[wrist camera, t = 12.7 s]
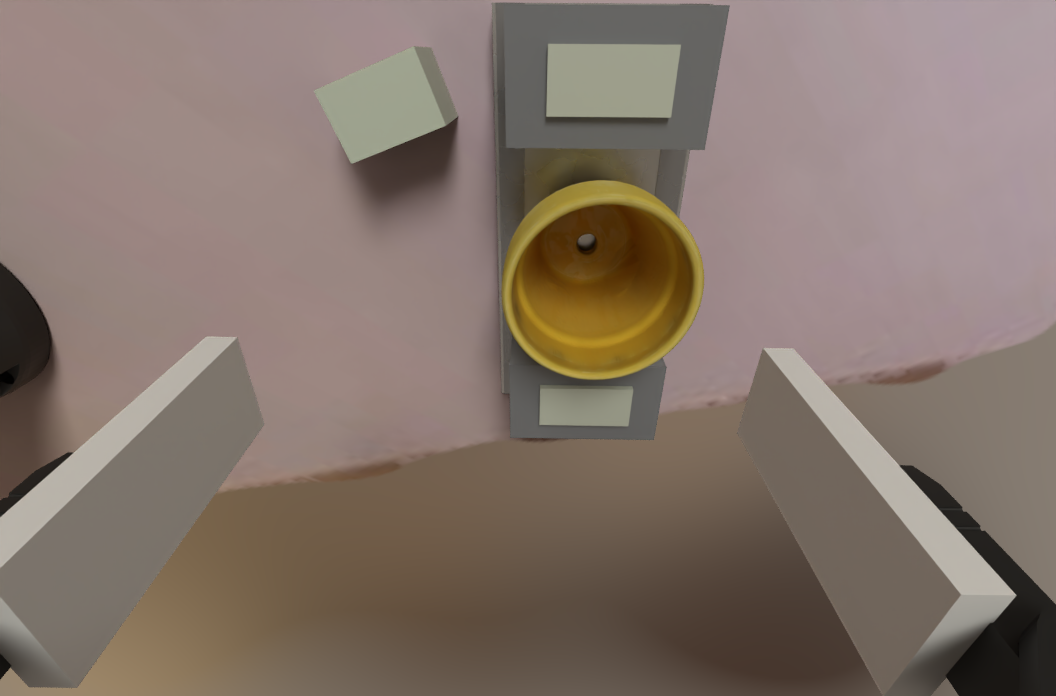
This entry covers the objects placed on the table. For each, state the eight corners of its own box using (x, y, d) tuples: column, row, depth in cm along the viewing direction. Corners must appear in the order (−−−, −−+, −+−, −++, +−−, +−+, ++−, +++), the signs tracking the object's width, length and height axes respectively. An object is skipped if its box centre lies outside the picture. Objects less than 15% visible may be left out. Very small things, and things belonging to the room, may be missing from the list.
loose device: (375, 149, 33) (351, 163, 29) (344, 85, 31) (313, 90, 27) (458, 116, 32) (445, 125, 28) (431, 47, 30) (413, 46, 26)
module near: (511, 132, 30) (505, 149, 25) (510, 13, 27) (503, 3, 22) (676, 133, 30) (706, 151, 25) (693, 15, 27) (732, 4, 22)
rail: (503, 379, 42) (501, 393, 40) (494, 6, 29) (491, 2, 27) (645, 381, 42) (650, 395, 40) (702, 7, 29) (713, 4, 27)
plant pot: (682, 273, 35) (728, 343, 26) (546, 326, 37) (548, 406, 29) (634, 127, 30) (672, 154, 22) (482, 198, 32) (463, 248, 24)
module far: (514, 388, 40) (510, 441, 34) (513, 321, 37) (508, 368, 31) (638, 390, 40) (655, 443, 34) (648, 323, 37) (667, 370, 31)
